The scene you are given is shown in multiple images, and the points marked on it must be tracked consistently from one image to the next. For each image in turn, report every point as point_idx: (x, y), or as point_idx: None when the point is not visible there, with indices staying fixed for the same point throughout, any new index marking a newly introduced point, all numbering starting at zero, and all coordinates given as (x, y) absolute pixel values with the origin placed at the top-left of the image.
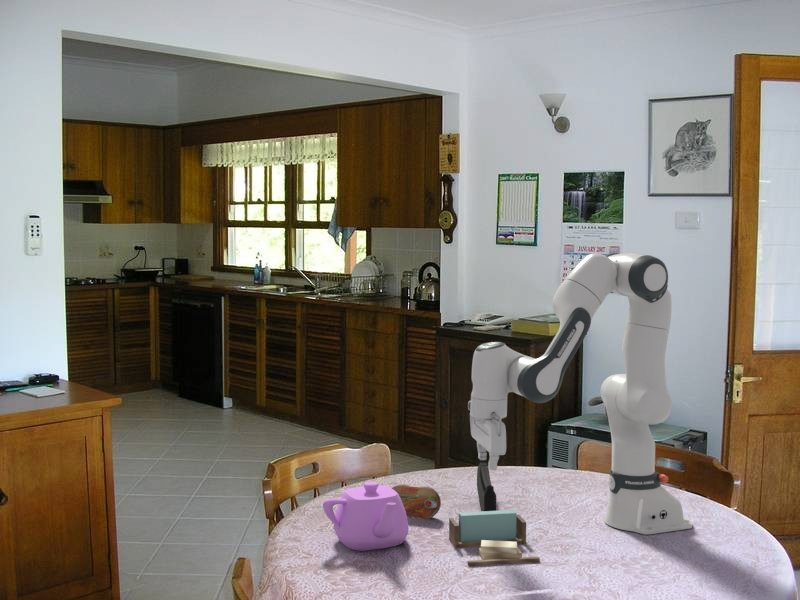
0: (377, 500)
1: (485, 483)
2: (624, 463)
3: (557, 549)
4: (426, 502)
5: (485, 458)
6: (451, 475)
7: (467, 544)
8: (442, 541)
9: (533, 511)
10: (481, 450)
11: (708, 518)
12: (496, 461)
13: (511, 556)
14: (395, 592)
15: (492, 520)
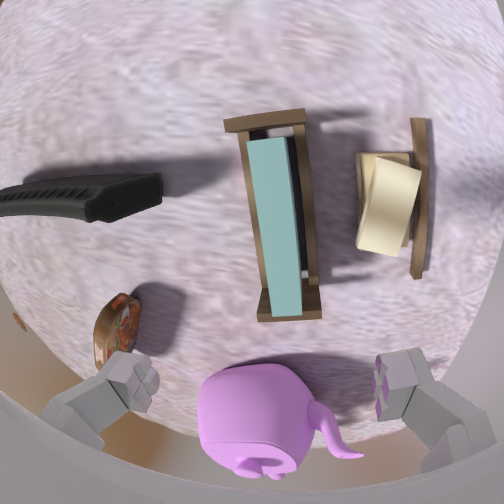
0: (296, 458)
1: (51, 215)
2: None
3: (324, 47)
4: (121, 324)
5: (144, 362)
6: None
7: (317, 264)
8: None
9: (76, 91)
10: (112, 406)
11: None
12: (447, 395)
13: None
14: (447, 365)
15: (294, 217)
